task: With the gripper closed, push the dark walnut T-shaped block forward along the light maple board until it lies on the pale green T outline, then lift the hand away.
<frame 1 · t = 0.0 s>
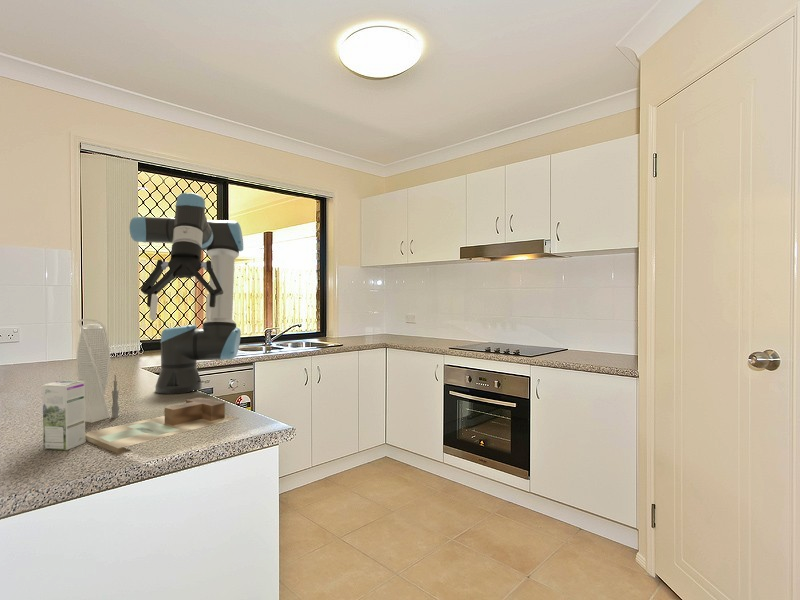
hand: (180, 319, 120), 28 cm above the worktop, tool tilted 20°, fingers open, 13 cm apart
board: (164, 430, 115), on the worktop
skyscraper: (95, 424, 121), on the worktop
t block: (191, 419, 121), point 1 cm above the worktop, touching board
syrup box: (64, 447, 102), on the worktop
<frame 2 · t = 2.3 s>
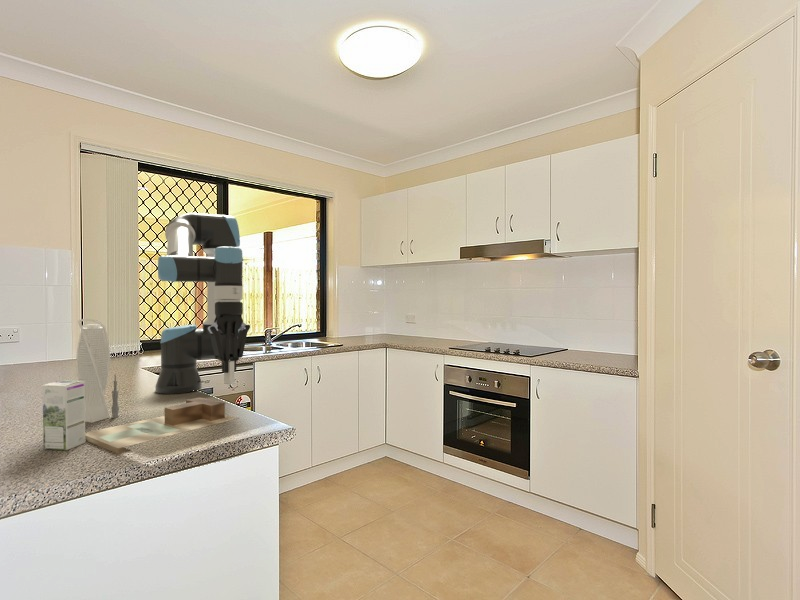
hand: (229, 383, 130), 9 cm above the worktop, tool pointing down, fingers closed
nothing on the worktop moved.
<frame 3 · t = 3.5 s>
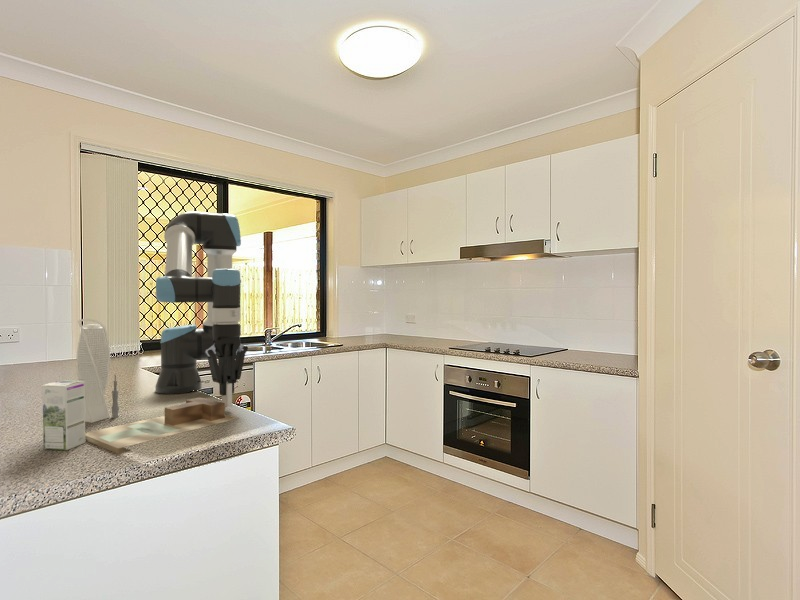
hand: (226, 405, 130), 3 cm above the worktop, tool pointing down, fingers closed
nothing on the worktop moved.
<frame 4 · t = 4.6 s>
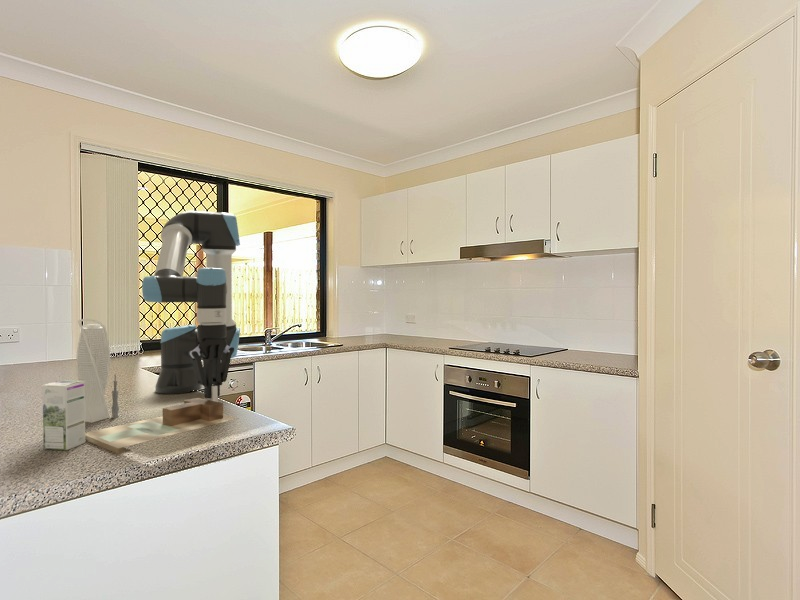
hand: (212, 409, 126), 3 cm above the worktop, tool pointing down, fingers closed
t block: (189, 419, 120), point 1 cm above the worktop, touching gripper
everything else where it was.
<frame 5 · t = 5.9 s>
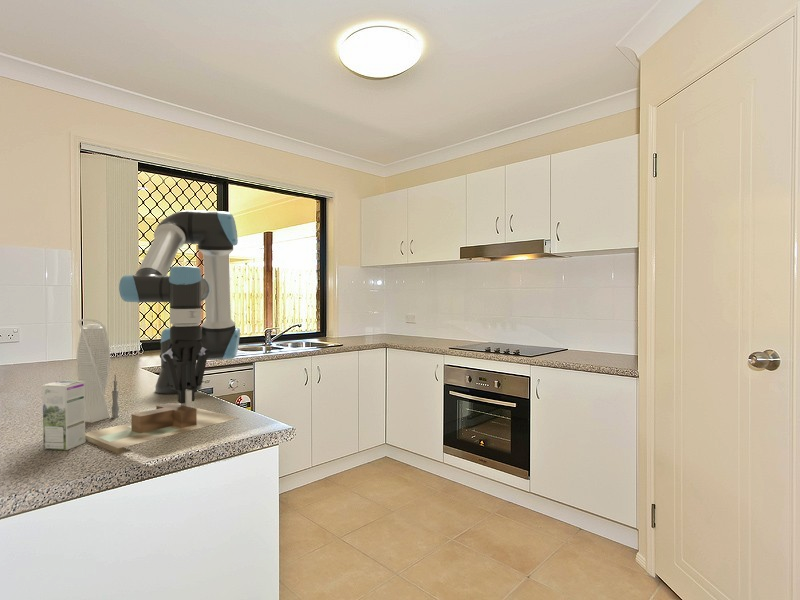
hand: (186, 414, 120), 3 cm above the worktop, tool pointing down, fingers closed
t block: (160, 426, 114), point 1 cm above the worktop, touching gripper
everything else where it was.
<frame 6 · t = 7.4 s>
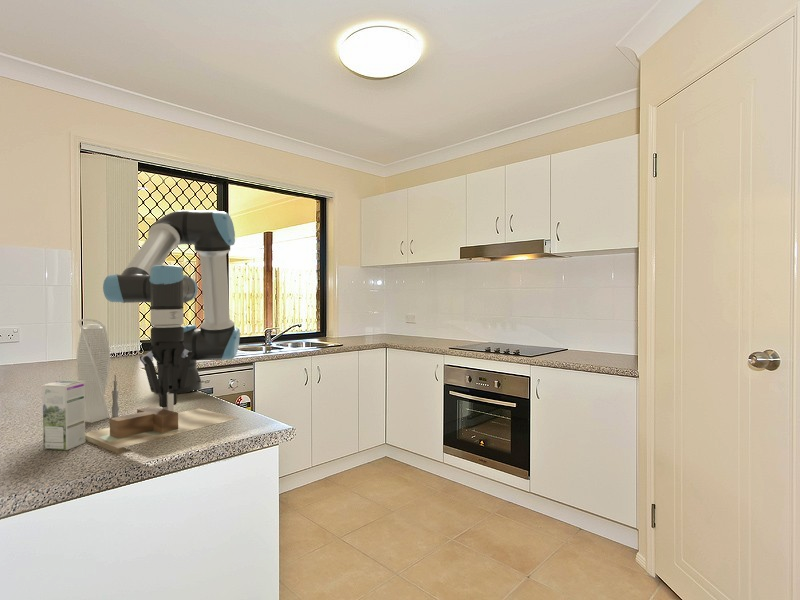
hand: (168, 418, 116), 3 cm above the worktop, tool pointing down, fingers closed
t block: (140, 430, 110), point 1 cm above the worktop, touching board, gripper
everything else where it was.
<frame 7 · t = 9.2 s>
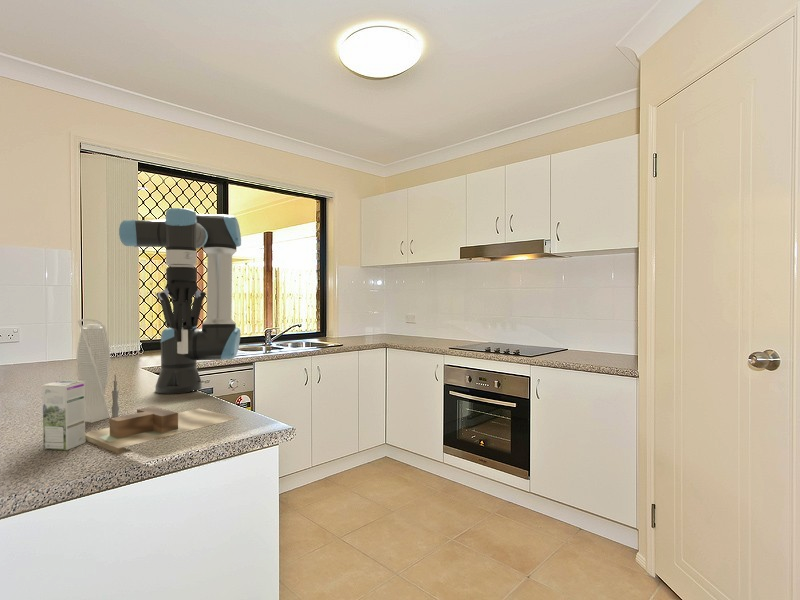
hand: (182, 353, 124), 18 cm above the worktop, tool pointing down, fingers closed
t block: (140, 430, 110), point 1 cm above the worktop, touching board
everything else where it was.
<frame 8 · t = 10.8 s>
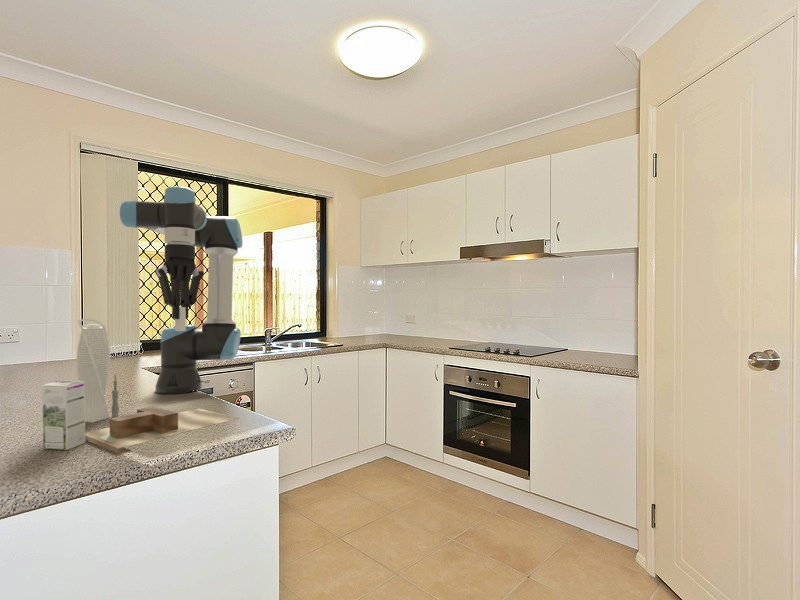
hand: (180, 330, 125), 24 cm above the worktop, tool pointing down, fingers closed
nothing on the worktop moved.
at the end: t block 1.1 cm from the target spot on the board, point 1.2 cm above the board's base; t block moved 12.9 cm from its start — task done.
